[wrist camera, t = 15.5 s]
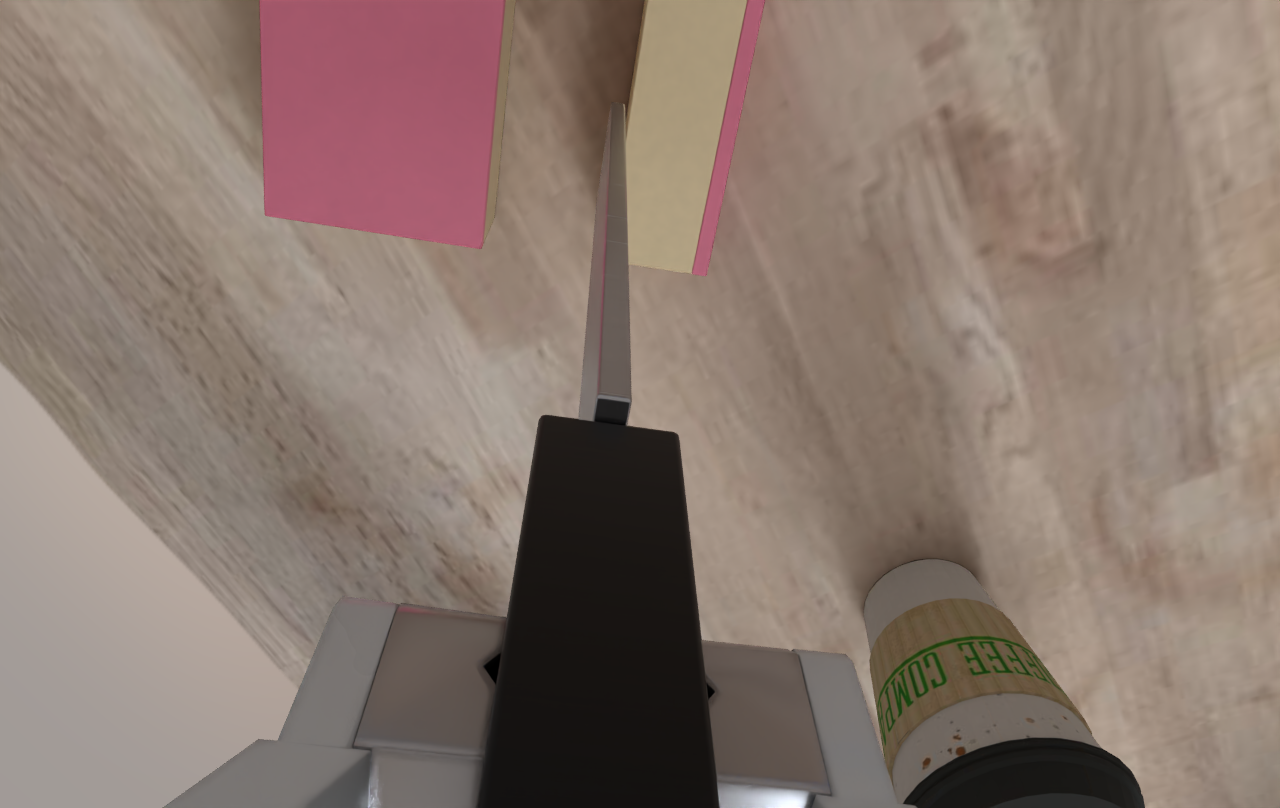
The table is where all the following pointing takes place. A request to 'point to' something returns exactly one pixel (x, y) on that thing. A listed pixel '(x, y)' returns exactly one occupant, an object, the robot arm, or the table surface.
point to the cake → (385, 114)
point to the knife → (603, 587)
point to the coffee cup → (976, 704)
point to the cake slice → (684, 126)
